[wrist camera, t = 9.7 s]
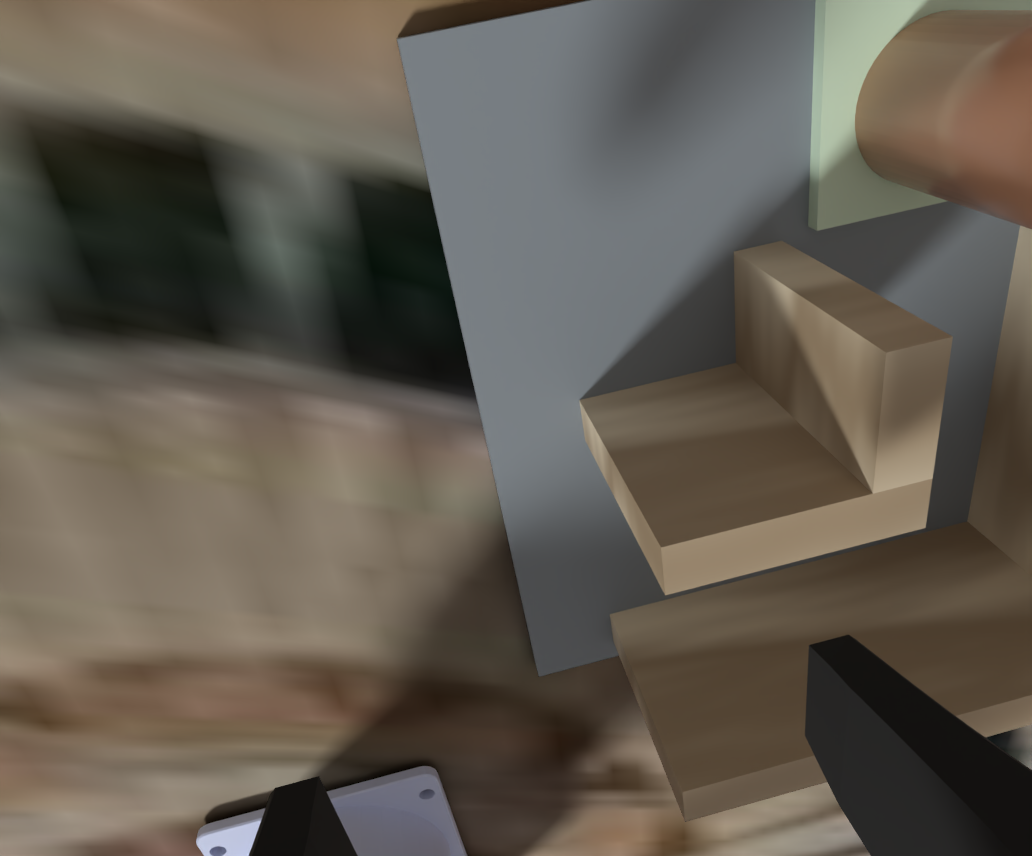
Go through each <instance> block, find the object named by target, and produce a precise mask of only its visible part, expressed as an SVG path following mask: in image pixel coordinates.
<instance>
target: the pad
mask: <svg viewBox="0 0 1032 856" xmlns="http://www.w3.org/2000/svg"><path fill="white" fill-rule="evenodd" d="M947 10H1032V0H816V2H815V33H814V63H813V94H812V124H811V155H810V185H809V216H808V227H810V228H812V229H814V230H816V231H819V230H823V229H828V228H832V227H836V226H841V225H845V224H850V223H854V222H858V221H863V220H867V219H872V218H876V217H880V216H885V215H889V214H894V213H898V212H902V211H907V210H911V209H916V208H920V207H924V206H929V205H933V204H938V203H942V202H946V201H947V200H944V199H941V198H938V197H935V196H932V195H929V194H926V193H923V192H920V191H917V190H914V189H911V188H908V187H905V186H902V185H899V184H896V183H893V182H891V181H888V180H885V179H884V178H882V177H880V176H879V175H877V174H876V173H875V172H874V171H872V169H871V168H870V167H869V166H868V165H867V163H866V162H865V160H864V159H863V157H862V155H861V152H860V150H859V147H858V143H857V139H856V132H855V113H856V105H857V101H858V97H859V93H860V90H861V87H862V85H863V82H864V80H865V78H866V75H867V73H868V71H869V69H870V68H871V66H872V64H873V62H874V61H875V59H876V58H877V56H878V55H879V54H880V52H881V51H882V50H883V48H884V47H885V46H886V45H887V44H888V43H889V42H890V41H891V40H892V39H893V38H894V37H895V36H896V35H897V34H898V33H899V32H900V31H902V30H903V29H904V28H906V27H907V26H908V25H910V24H911V23H913V22H915V21H917V20H918V19H920V18H922V17H925V16H927V15H930V14H932V13H936V12H940V11H947Z"/></svg>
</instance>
